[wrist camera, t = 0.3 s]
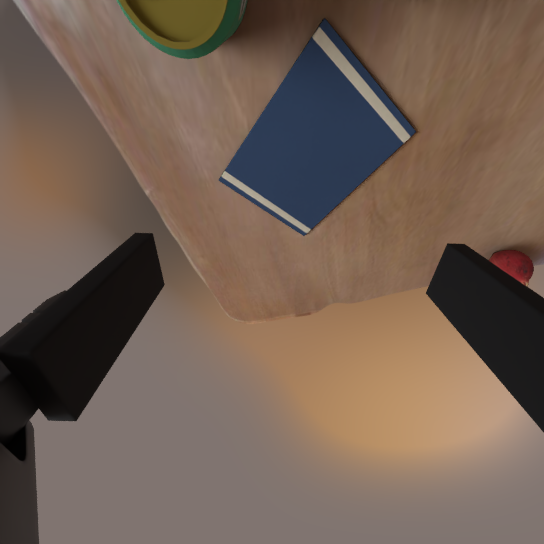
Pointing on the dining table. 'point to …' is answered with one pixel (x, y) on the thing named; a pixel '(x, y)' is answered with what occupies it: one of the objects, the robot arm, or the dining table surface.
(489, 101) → the dining table surface
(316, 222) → the towel
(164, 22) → the beverage can
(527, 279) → the onion
